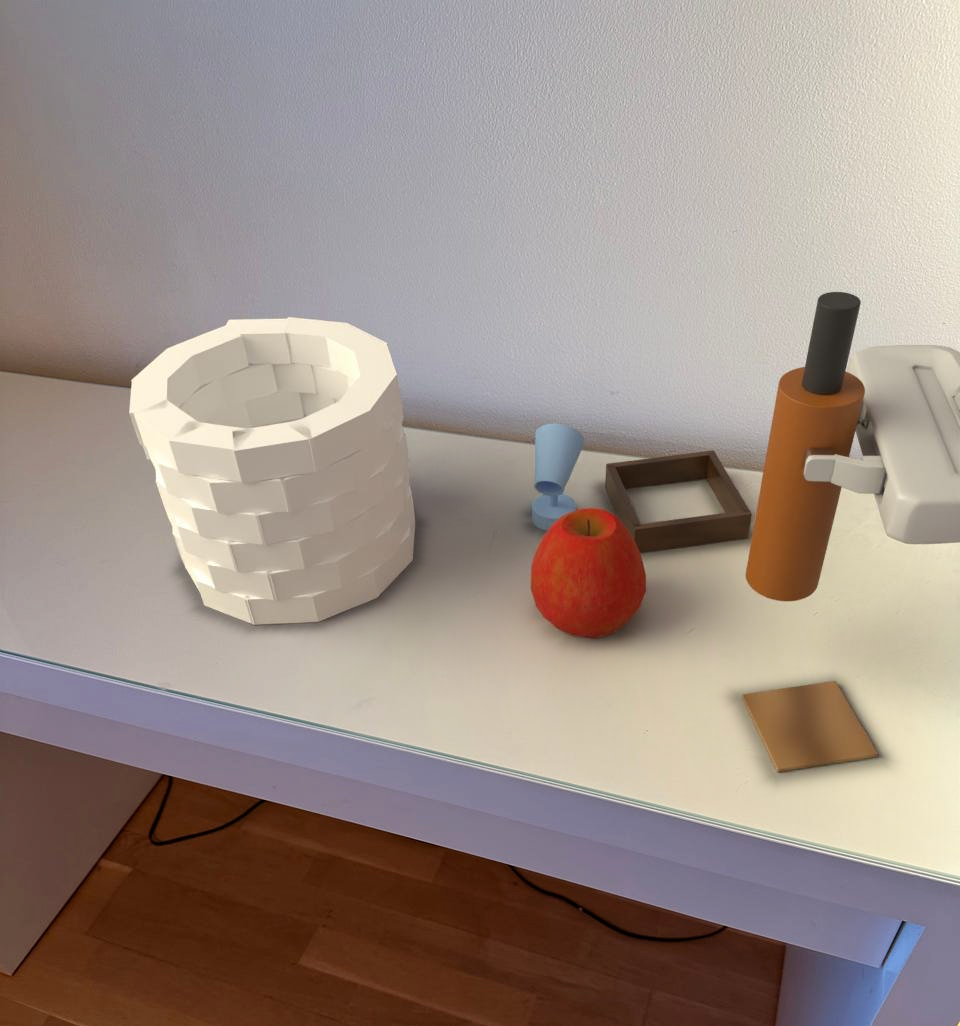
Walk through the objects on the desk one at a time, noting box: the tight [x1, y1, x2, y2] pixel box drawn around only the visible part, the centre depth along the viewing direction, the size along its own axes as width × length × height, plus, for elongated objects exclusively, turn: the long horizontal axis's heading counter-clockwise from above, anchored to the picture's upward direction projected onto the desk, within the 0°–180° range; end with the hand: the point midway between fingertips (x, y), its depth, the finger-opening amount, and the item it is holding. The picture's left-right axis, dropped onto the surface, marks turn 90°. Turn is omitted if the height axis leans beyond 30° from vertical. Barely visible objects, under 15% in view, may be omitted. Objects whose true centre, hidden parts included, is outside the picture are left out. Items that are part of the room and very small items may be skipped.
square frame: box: [604, 449, 753, 554], centre depth 97 cm, size 12×12×3 cm
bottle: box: [745, 291, 865, 602], centre depth 69 cm, size 6×6×23 cm
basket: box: [128, 316, 416, 626], centre depth 91 cm, size 25×24×19 cm
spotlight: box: [531, 423, 585, 532], centre depth 96 cm, size 5×10×7 cm
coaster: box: [741, 680, 879, 773], centre depth 77 cm, size 8×8×1 cm
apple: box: [530, 507, 647, 639], centre depth 85 cm, size 10×10×10 cm
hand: (798, 436), depth 68 cm, fingers closed on bottle, 5 cm apart
